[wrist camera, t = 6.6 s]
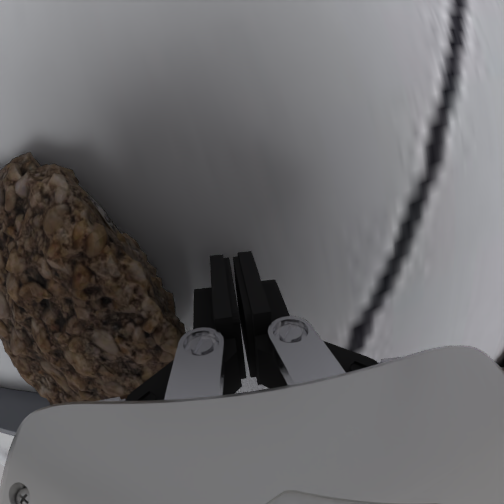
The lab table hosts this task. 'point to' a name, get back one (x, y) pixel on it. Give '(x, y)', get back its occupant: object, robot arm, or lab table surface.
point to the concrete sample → (76, 291)
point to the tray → (17, 408)
